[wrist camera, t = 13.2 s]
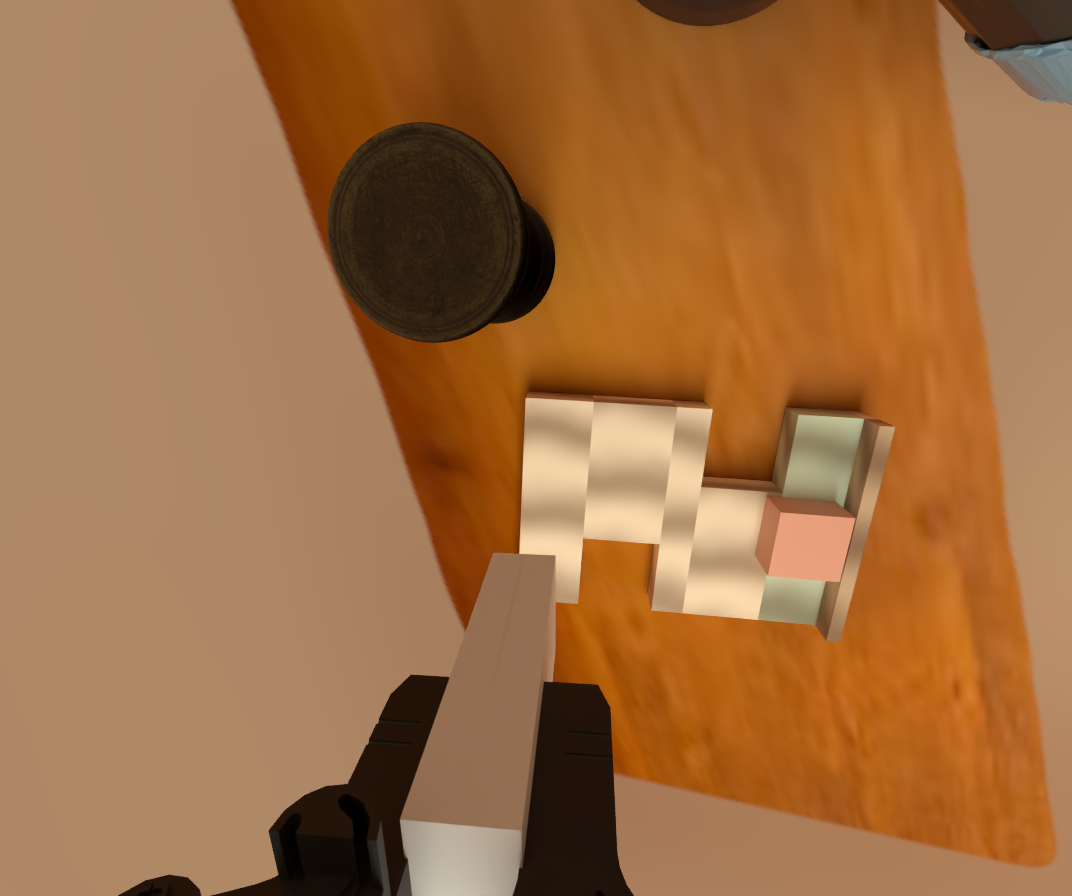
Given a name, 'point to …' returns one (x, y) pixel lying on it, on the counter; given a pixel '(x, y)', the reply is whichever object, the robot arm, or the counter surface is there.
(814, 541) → the block
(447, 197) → the container
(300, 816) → the robot arm
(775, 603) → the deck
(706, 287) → the counter surface
